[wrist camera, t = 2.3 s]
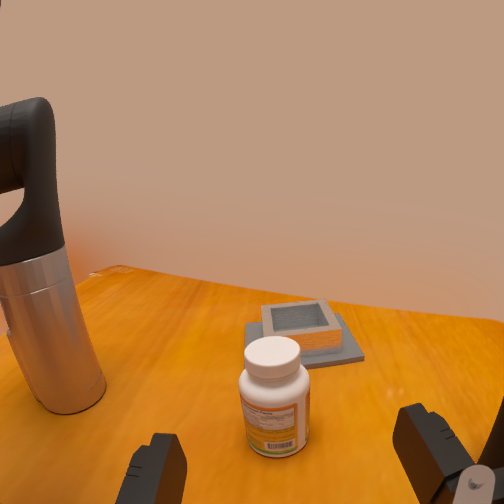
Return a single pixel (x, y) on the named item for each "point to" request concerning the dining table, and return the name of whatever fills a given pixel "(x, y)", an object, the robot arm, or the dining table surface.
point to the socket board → (308, 332)
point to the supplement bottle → (275, 396)
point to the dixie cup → (495, 444)
